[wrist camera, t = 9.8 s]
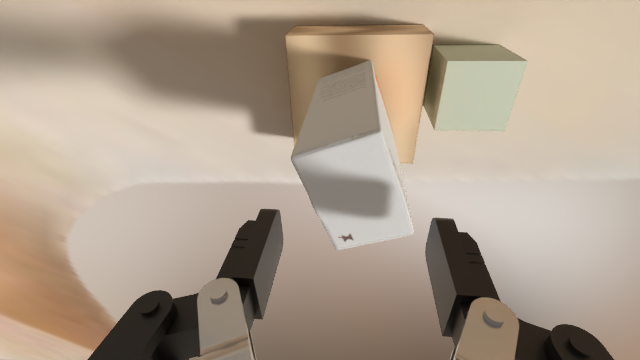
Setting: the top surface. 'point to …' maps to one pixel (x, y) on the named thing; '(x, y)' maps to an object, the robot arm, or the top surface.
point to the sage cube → (472, 87)
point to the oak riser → (355, 48)
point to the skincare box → (352, 161)
